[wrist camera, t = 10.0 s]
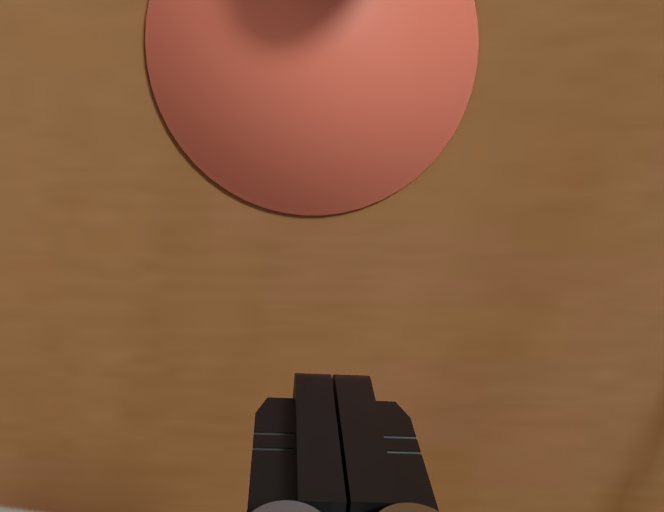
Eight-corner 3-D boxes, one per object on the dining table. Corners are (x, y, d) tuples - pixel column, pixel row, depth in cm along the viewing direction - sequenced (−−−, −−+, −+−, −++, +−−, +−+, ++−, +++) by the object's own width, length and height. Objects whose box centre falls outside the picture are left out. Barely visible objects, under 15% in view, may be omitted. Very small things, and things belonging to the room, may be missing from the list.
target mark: (504, -115, 24) (506, -116, 24) (450, 223, 29) (451, 224, 29) (141, -156, 23) (140, -157, 23) (149, 204, 28) (148, 206, 28)
